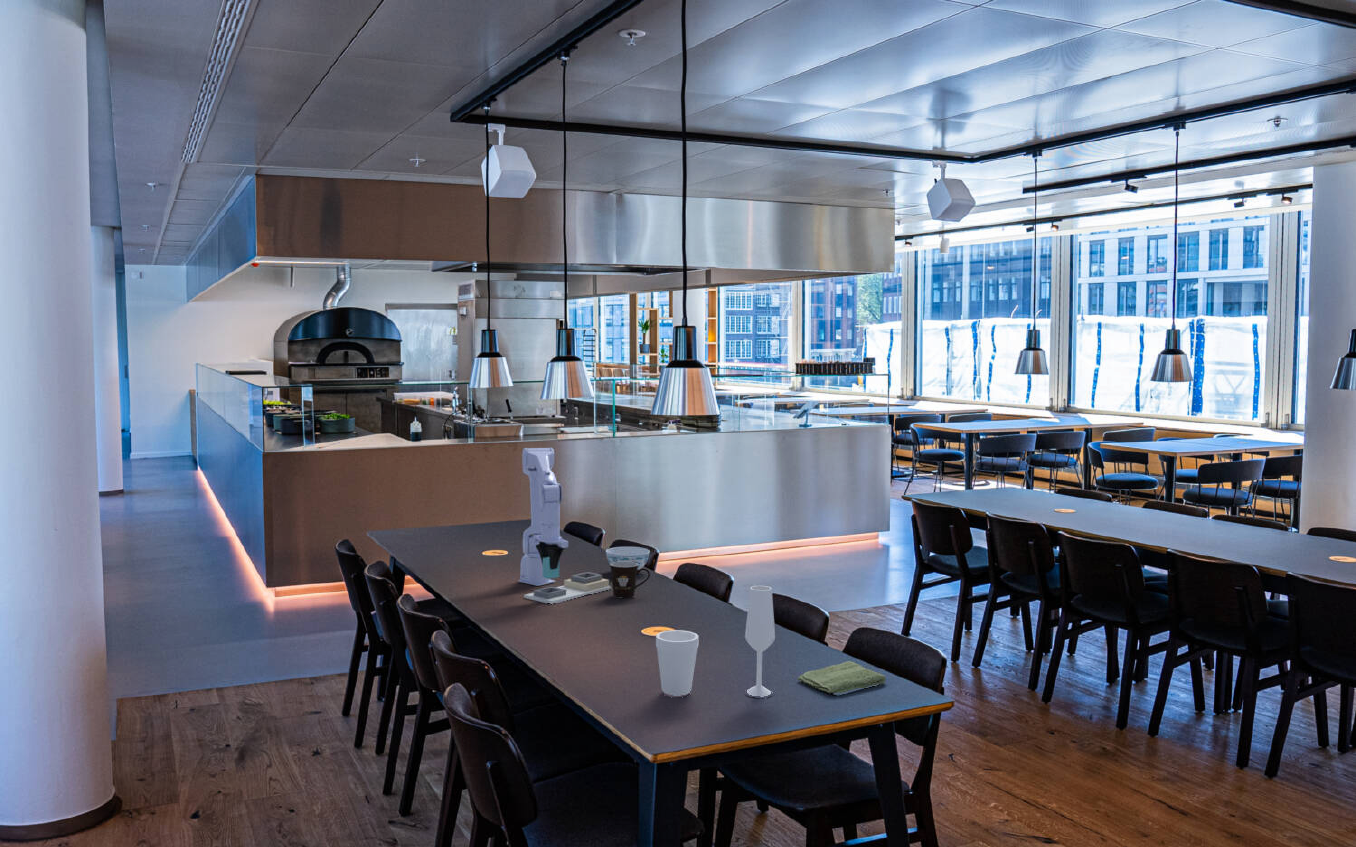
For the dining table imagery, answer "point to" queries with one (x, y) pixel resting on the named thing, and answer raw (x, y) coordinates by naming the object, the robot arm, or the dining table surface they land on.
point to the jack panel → (571, 588)
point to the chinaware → (628, 555)
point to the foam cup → (677, 660)
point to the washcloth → (842, 678)
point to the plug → (549, 569)
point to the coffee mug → (625, 578)
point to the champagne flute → (760, 630)
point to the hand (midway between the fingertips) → (550, 567)
